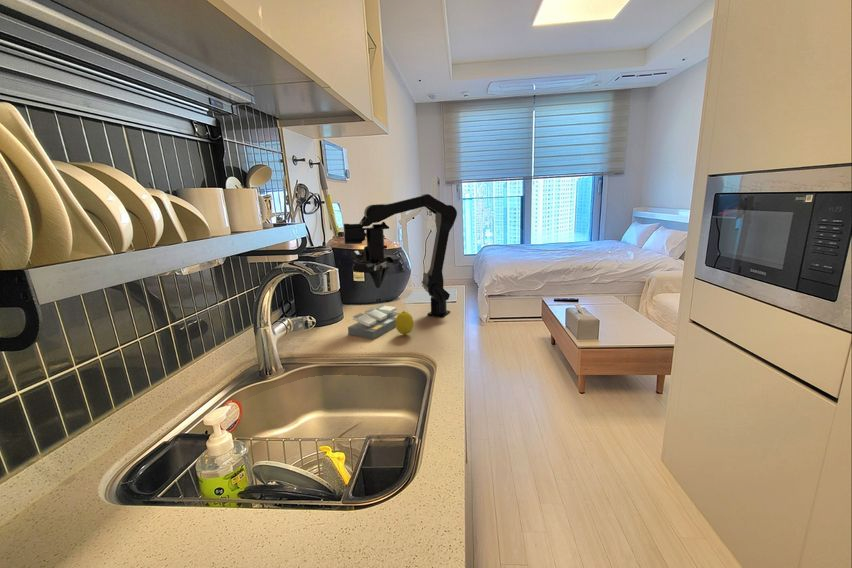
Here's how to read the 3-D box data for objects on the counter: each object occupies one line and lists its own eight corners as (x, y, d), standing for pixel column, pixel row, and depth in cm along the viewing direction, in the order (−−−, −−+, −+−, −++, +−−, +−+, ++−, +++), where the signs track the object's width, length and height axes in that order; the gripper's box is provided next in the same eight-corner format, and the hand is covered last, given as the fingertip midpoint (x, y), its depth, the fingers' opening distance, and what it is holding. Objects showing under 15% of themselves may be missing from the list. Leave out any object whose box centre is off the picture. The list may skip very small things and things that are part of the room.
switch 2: (381, 307, 130) (381, 304, 129) (396, 310, 127) (396, 306, 126) (375, 311, 126) (374, 307, 126) (390, 313, 123) (390, 310, 123)
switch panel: (383, 317, 132) (382, 307, 131) (406, 320, 128) (405, 310, 127) (348, 334, 116) (347, 323, 115) (373, 339, 111) (372, 328, 111)
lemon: (393, 337, 112) (392, 313, 111) (400, 331, 118) (399, 307, 116) (410, 339, 111) (409, 314, 109) (416, 333, 116) (415, 309, 114)
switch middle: (371, 310, 124) (372, 307, 124) (386, 317, 122) (387, 314, 121) (364, 314, 121) (364, 310, 121) (379, 320, 118) (380, 317, 118)
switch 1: (360, 315, 119) (361, 312, 119) (376, 322, 117) (376, 319, 116) (352, 319, 116) (353, 316, 116) (368, 326, 113) (368, 323, 113)
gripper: (373, 239, 133) (375, 280, 137) (338, 245, 118) (341, 291, 121) (398, 240, 128) (400, 283, 132) (365, 246, 112) (368, 295, 116)
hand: (378, 287), depth 125 cm, fingers closed
